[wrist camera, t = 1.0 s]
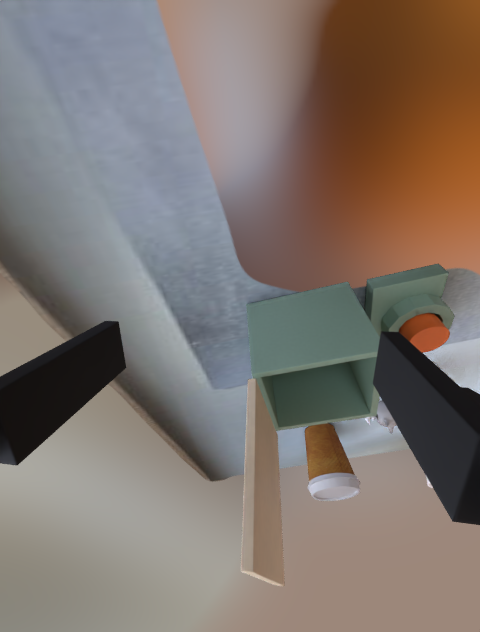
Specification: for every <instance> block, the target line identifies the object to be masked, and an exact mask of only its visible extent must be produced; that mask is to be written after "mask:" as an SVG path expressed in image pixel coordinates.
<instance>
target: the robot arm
mask: <svg viewBox="0 0 480 632" xmlns="http://www.w3.org/2000/svg"><path fill="white" fill-rule="evenodd" d="M125 368H126V364H125V358H124V352H123V346H122V340H121V334H120V328H119V322H117V321H104V322H103V323H101V324H99V325H97V326H95V327H93V328H91V329H89V330H87V331H86V332H84V333H82V334H80V335H78V336H76V337H74V338H72V339H70V340H69V341H67V342H65V343H63V344H61V345H59V346H57V347H55V348H54V349H52V350H50V351H48V352H46V353H44V354H42V355H41V356H38V357H37V358H35V359H33V360H31V361H29V362H27V363H25V364H23V365H21V366H20V367H18V368H16V369H14V370H12V371H10V372H8V373H6V374H4V375H3V376H1V377H0V463H2V464H11V465H18V464H19V463H20V462H22V461H23V460H24V459H25V458H26V457H27V456H28V455H29V454H31V453H32V452H33V451H34V450H35V449H36V448H37V447H38V446H39V445H41V444H42V443H43V442H44V441H45V440H46V439H47V438H48V437H49V436H51V435H52V434H53V433H54V432H55V431H56V430H57V429H58V428H59V427H60V426H62V425H63V424H64V423H65V422H66V421H67V420H68V419H69V418H71V417H72V416H73V415H74V414H75V413H76V412H77V411H78V410H80V409H81V408H82V407H83V406H84V405H85V404H86V403H87V402H88V401H89V400H90V399H92V398H93V397H94V396H95V395H96V394H97V393H98V392H100V391H101V390H102V388H104V387H105V386H106V385H107V384H108V383H110V382H111V381H112V380H113V379H114V378H115V377H116V376H117V375H118V374H120V373H121V372H122V371H123V370H124V369H125ZM373 385H374V386H375V388H376V390H377V392H378V393H379V395H380V397H381V399H382V400H383V402H384V404H385V405H386V407H387V409H388V411H389V412H390V414H391V416H392V418H393V419H394V421H395V423H396V424H397V426H398V428H399V430H400V431H401V433H402V435H403V437H404V438H405V440H406V442H407V443H408V445H409V447H410V449H411V450H412V452H413V454H414V456H415V457H416V459H417V461H418V462H419V464H420V466H421V468H422V469H423V471H424V473H425V475H426V476H427V478H428V480H429V481H430V483H431V485H432V487H433V488H434V490H435V492H436V494H437V495H438V497H439V499H440V500H441V502H442V504H443V506H444V507H445V509H446V511H447V513H448V514H449V516H450V518H451V519H452V521H454V522H461V523H468V524H476V525H480V394H478V393H476V392H475V391H473V390H471V389H469V388H462V387H459V386H458V385H457V384H456V383H455V382H454V381H453V380H452V379H451V378H449V377H448V376H447V375H446V374H445V373H444V372H443V371H442V370H441V369H439V368H438V367H437V366H436V365H435V364H434V363H433V362H432V361H431V360H429V359H428V358H427V357H426V356H425V355H424V354H423V353H422V352H421V351H419V350H418V349H417V348H416V347H415V346H414V345H413V344H412V343H411V342H409V341H408V340H407V339H406V338H405V337H404V336H403V335H402V334H400V333H399V332H387V331H381V334H380V340H379V347H378V353H377V359H376V366H375V372H374V378H373Z"/></svg>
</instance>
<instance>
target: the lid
mask: <svg viewBox="0 0 480 632" xmlns="http://www.w3.org/2000/svg"><path fill="white" fill-rule="evenodd" d="M241 555H242V556H241V572H243V573H246V574H249V575H251V576H254V577H256V578H259V579H261V580H263V581H266V582H268V583H271V584H274V585H276V586H285V582H284V560H283V539H282V519H281V499H280V477H279V456H278V436H277V433H276V430H275V427H274V425H273V422H272V419H271V417H270V414H269V412H268V409H267V406H266V404H265V401H264V398H263V396H262V393H261V391H260V388H259V385H258V383H257V380H256V378H254V379H248V392H247V419H246V446H245V473H244V501H243V527H242V554H241Z"/></svg>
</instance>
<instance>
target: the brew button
mask: <svg viewBox="0 0 480 632" xmlns="http://www.w3.org/2000/svg"><path fill="white" fill-rule="evenodd" d="M399 333H400V334H402V335H403V336H404V337H405V338H406V339H407V340H408V341H409V342H411V343H412V344H413V345H414V346H415V347H416V348H417V349H418V350H419V351H421V352H422V353H423V352H428V351H431V350H434V349H436V348H438V347H440V346H441V345H443V344H444V343H445V342H446V341H447V340H448V338H449V335H450V332H449V330H448V329H447V328H446V326H445V325H444V324H443V323H442V322H441V321H440V319H439V318H438V317H437V316H436V315H434V314H432V313H425V314H419V315H417V316H415V317H413V318H411V319H409V320H407V321H406V322H405V323H404V324H403V325H402V326H401V327H400V330H399Z"/></svg>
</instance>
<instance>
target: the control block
mask: <svg viewBox="0 0 480 632" xmlns="http://www.w3.org/2000/svg"><path fill="white" fill-rule="evenodd" d="M448 274H449V273H448V272H447V271H446V270H445V269H444V268H443V267H442V266H440V265H439V264H434V265H430V266H425V267H421V268H417V269H412V270H407V271H403V272H398V273H394V274H389V275H385V276H380V277H376V278H372V279H368V280H367V286H366V301H365V313H366V314H367V316H368V318H369V320H370V321H371V323H372V325H373V326H374V328H375V330H376V332H377V333H378V335H379V337H380V334H381V331H387V332H399V330H400V327H401V326H402V325H403V324H404V323H405V322H406V321H407V320H409V319H411V318H413V317H415V316H417V315H419V314H425V313H432V314H434V315H436V316H437V317H438V318H439V319H440V321H441V322H442V323H443V324H444V325H445V326H446V328H447V329H448V330H449V329H450V327H451V325H452V322H453V319H454V314H453V313H452V311H451V309H450V308H449V307H448V306H447V305H446V303H445V302H444V301H443V300H442V299H441V297H442V294H443V290H444V287H445V284H446V281H447V277H448Z"/></svg>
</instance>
